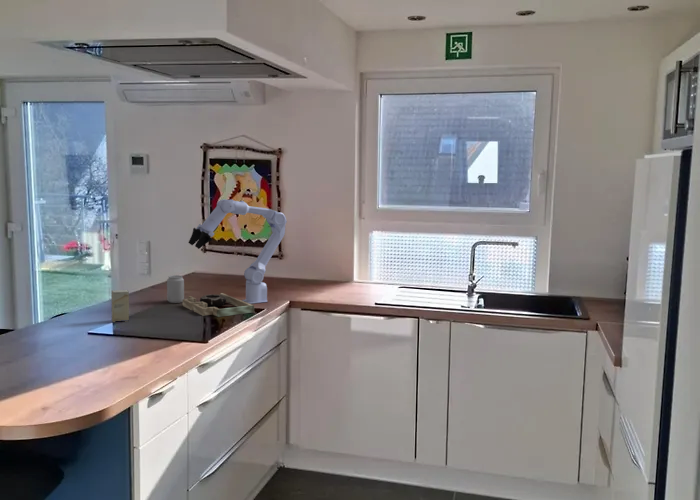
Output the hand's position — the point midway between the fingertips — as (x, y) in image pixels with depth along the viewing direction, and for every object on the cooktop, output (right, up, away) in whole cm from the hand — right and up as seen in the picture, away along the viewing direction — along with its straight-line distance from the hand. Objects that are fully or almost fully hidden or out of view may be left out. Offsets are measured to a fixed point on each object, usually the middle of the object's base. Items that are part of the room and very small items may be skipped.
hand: (193, 245), depth 277 cm
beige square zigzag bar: (+9, -28, +2) cm, 29 cm away
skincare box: (-23, -30, -25) cm, 46 cm away
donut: (+7, -27, +10) cm, 29 cm away
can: (-11, -26, +12) cm, 31 cm away
